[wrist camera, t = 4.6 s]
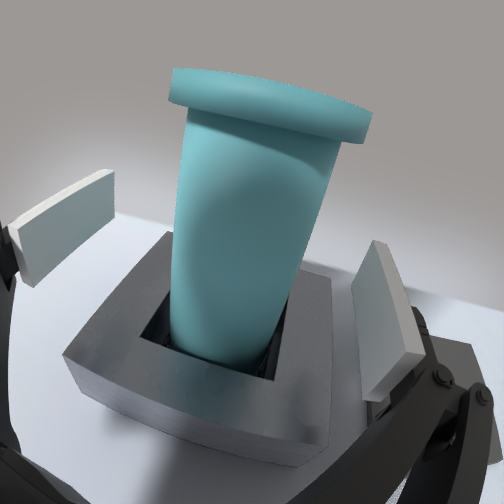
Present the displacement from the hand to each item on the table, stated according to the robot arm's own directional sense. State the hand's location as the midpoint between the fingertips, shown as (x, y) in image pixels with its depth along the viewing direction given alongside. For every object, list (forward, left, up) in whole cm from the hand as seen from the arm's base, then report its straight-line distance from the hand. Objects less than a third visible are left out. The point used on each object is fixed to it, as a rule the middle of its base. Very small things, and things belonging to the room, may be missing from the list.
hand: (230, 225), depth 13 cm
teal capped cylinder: (-1, 0, -9) cm, 9 cm away
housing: (-1, 0, -9) cm, 9 cm away
